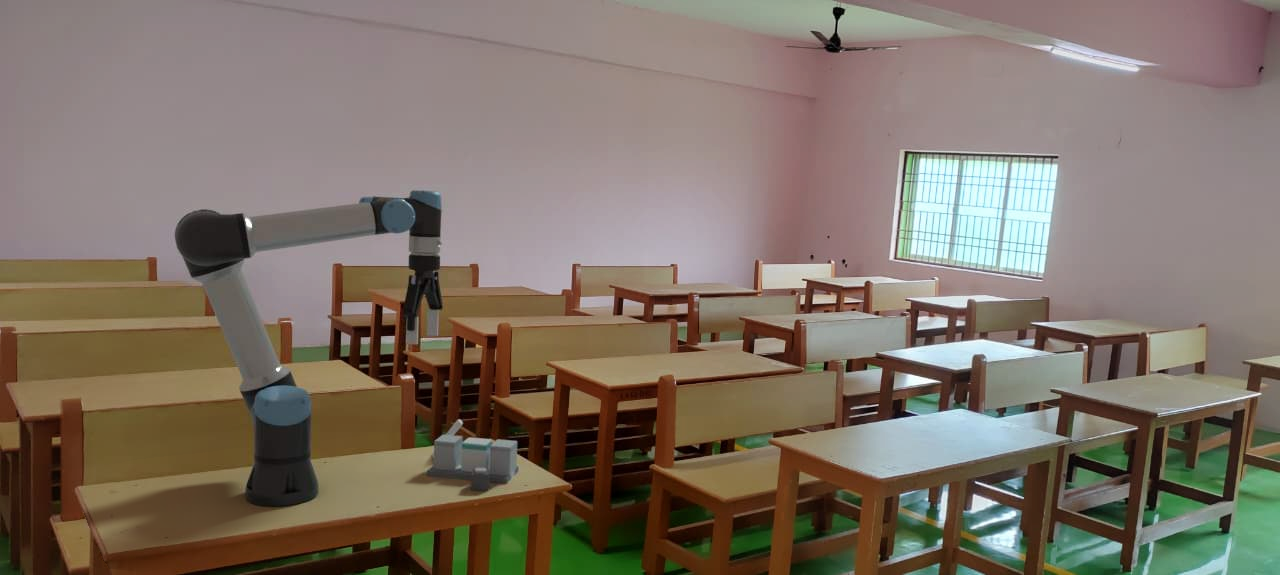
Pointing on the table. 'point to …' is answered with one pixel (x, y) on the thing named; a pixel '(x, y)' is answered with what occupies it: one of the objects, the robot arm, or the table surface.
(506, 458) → the rail board
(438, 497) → the table surface
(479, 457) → the block
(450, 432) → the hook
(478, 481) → the block
